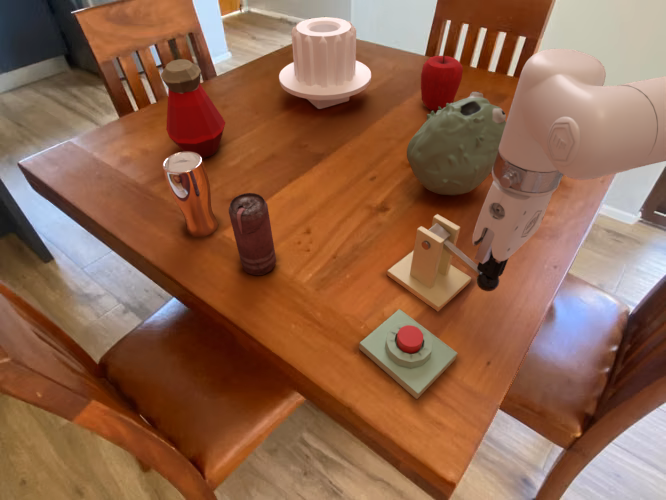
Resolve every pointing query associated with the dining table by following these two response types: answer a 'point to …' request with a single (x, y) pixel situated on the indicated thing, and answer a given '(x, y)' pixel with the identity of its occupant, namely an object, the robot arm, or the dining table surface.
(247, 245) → the can
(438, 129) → the green rock
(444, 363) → the grey button base
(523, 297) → the dining table surface
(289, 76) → the ribbed cylinder on disc
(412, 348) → the console button
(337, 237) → the dining table surface
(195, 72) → the bottle
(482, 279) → the switch lever
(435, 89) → the apple
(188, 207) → the beer glass
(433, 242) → the switch bracket
